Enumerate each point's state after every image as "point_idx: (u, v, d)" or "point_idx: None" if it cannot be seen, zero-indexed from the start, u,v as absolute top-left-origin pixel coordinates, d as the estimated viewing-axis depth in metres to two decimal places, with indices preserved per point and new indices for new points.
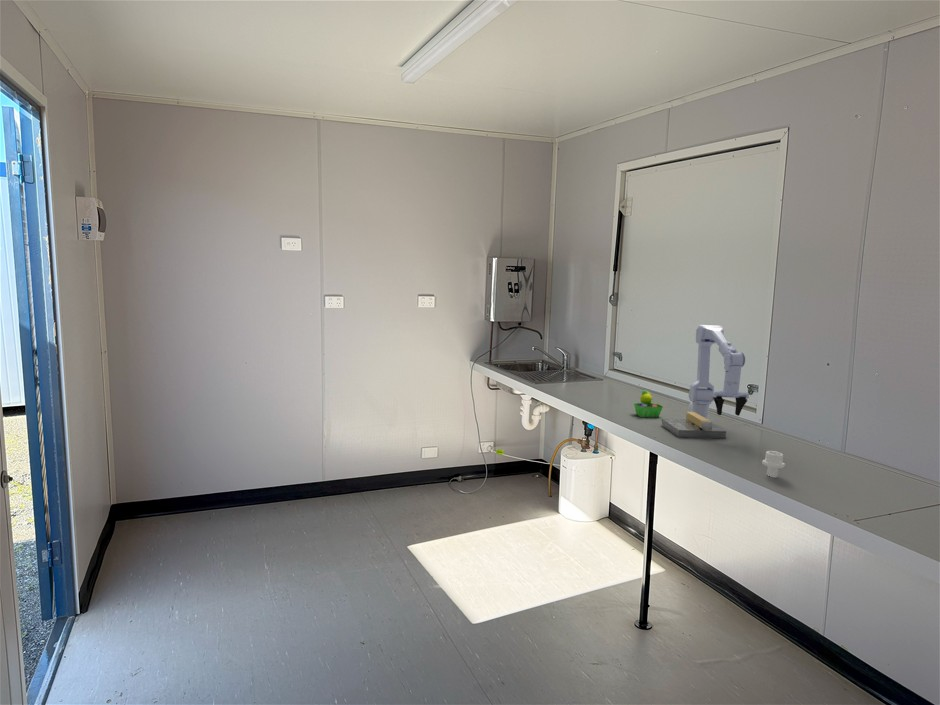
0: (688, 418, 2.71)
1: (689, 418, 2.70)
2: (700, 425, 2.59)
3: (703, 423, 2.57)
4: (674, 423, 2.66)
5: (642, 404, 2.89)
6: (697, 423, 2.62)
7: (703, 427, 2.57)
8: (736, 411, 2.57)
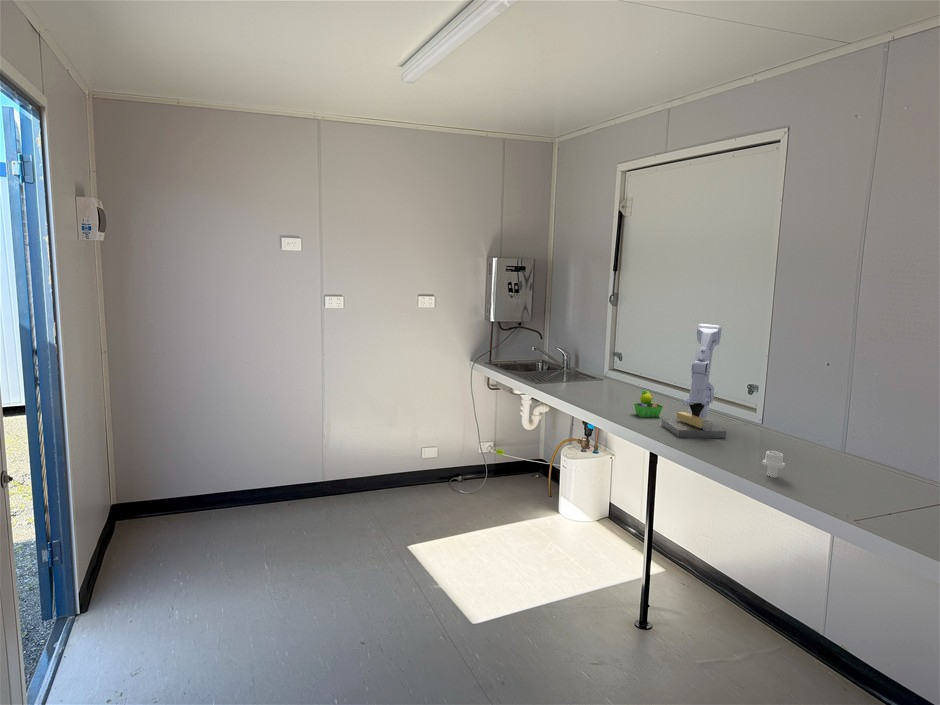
0: (680, 418, 2.69)
1: (682, 418, 2.69)
2: (700, 425, 2.59)
3: (704, 423, 2.56)
4: (674, 423, 2.66)
5: (642, 404, 2.89)
6: (695, 423, 2.61)
7: (704, 427, 2.56)
8: None
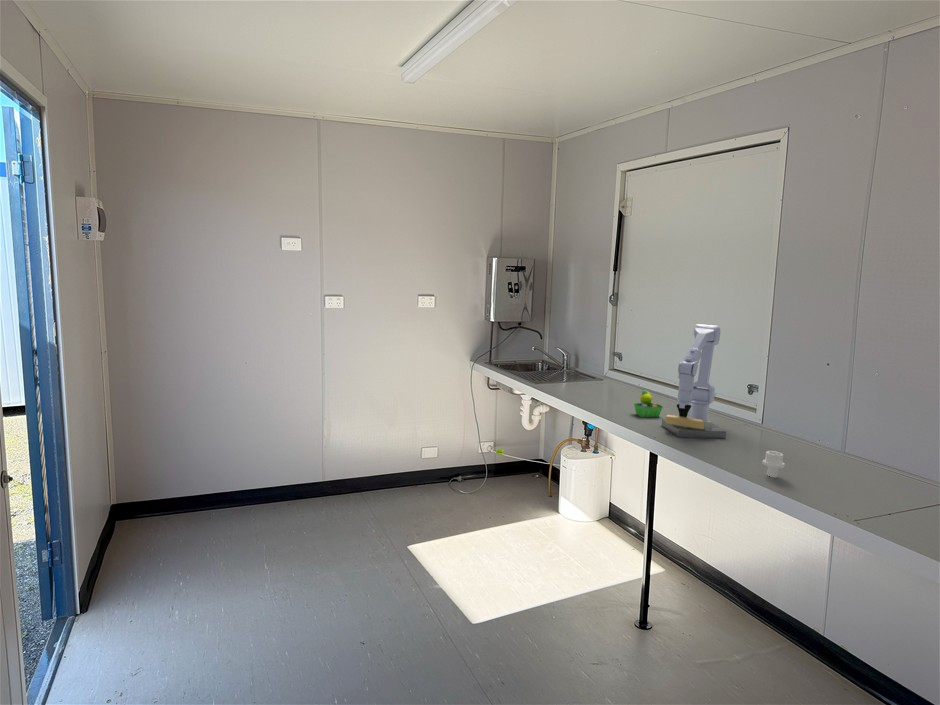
0: (671, 422, 2.63)
1: (674, 422, 2.62)
2: (701, 426, 2.57)
3: (708, 424, 2.56)
4: None
5: (642, 404, 2.89)
6: (694, 425, 2.58)
7: (708, 428, 2.56)
8: None
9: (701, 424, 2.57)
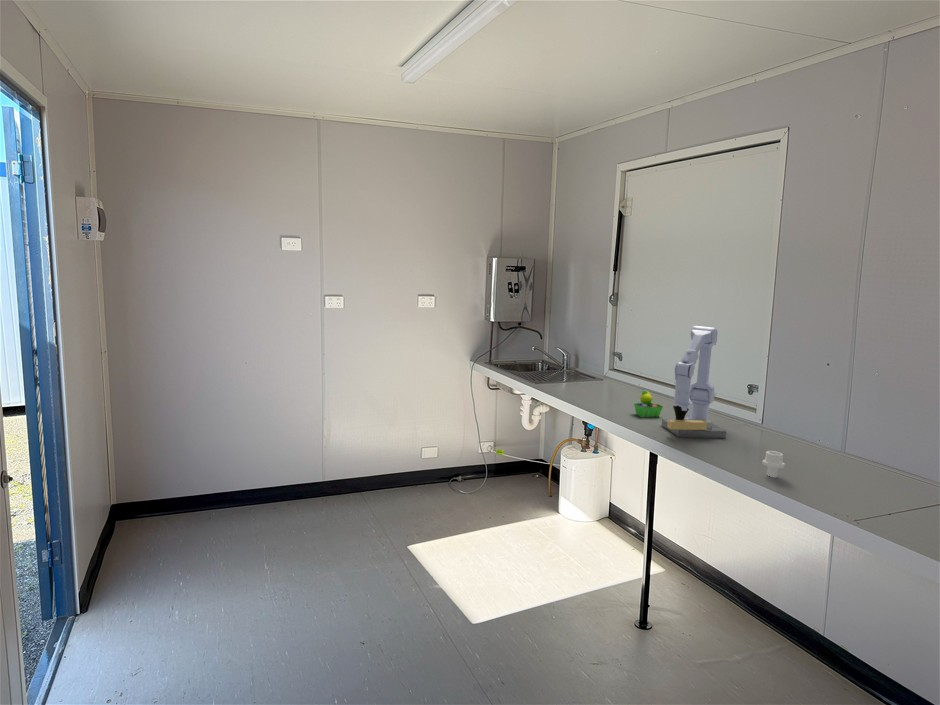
0: (676, 427, 2.54)
1: (679, 427, 2.55)
2: (704, 427, 2.56)
3: (710, 424, 2.56)
4: None
5: (642, 404, 2.89)
6: (697, 427, 2.55)
7: (710, 428, 2.56)
8: None
9: (704, 425, 2.56)
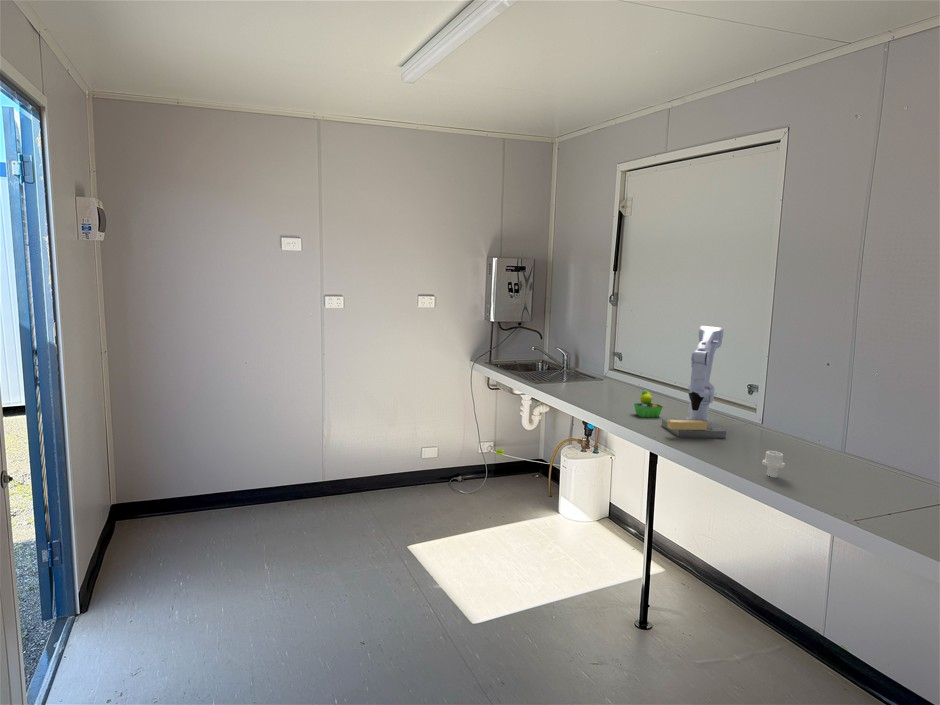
0: (676, 427, 2.54)
1: (679, 427, 2.55)
2: (704, 427, 2.56)
3: (710, 424, 2.56)
4: None
5: (642, 404, 2.89)
6: (697, 427, 2.55)
7: (710, 428, 2.56)
8: None
9: (704, 425, 2.56)
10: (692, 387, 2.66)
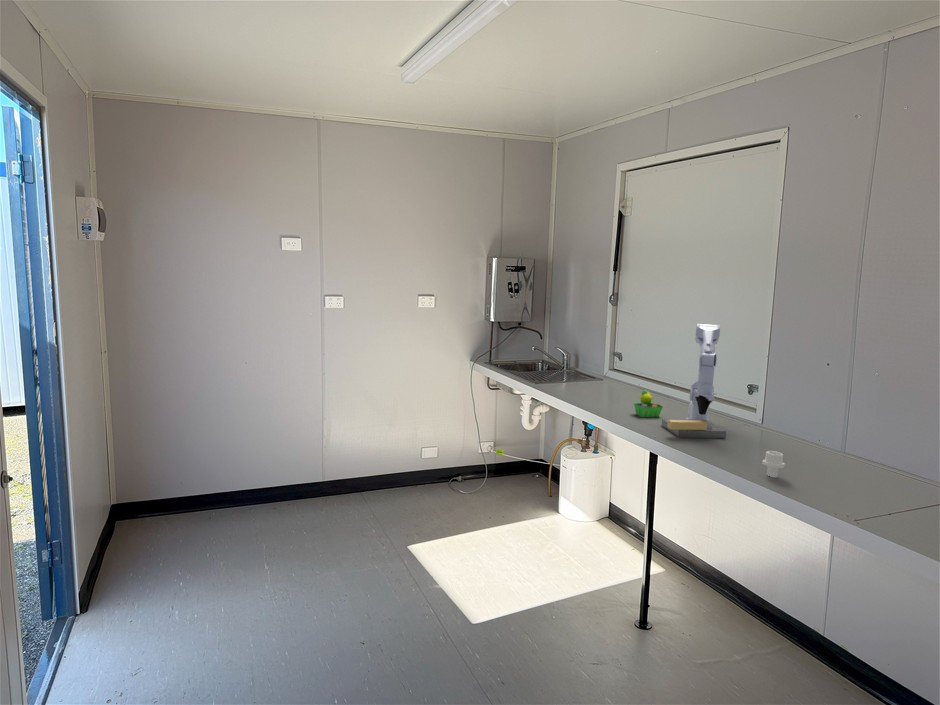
0: (676, 427, 2.54)
1: (679, 427, 2.55)
2: (704, 427, 2.56)
3: (710, 424, 2.56)
4: None
5: (642, 404, 2.89)
6: (697, 427, 2.55)
7: (710, 428, 2.56)
8: None
9: (704, 425, 2.56)
10: (700, 391, 2.59)
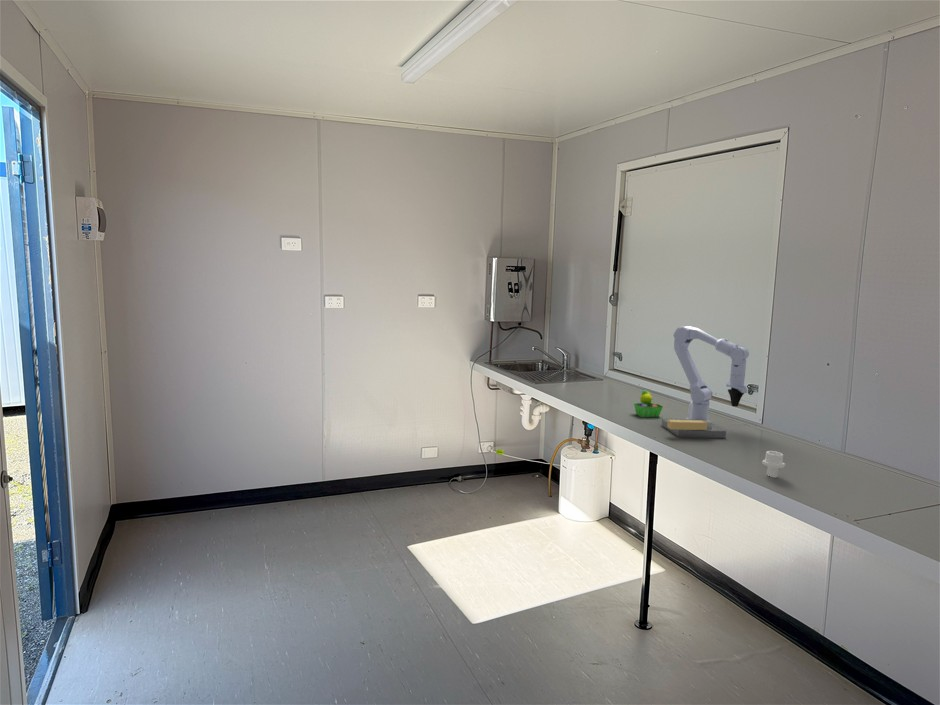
0: (676, 427, 2.54)
1: (679, 427, 2.55)
2: (704, 427, 2.56)
3: (710, 424, 2.56)
4: None
5: (642, 404, 2.89)
6: (697, 427, 2.55)
7: (710, 428, 2.56)
8: None
9: (704, 425, 2.56)
10: (732, 383, 2.69)
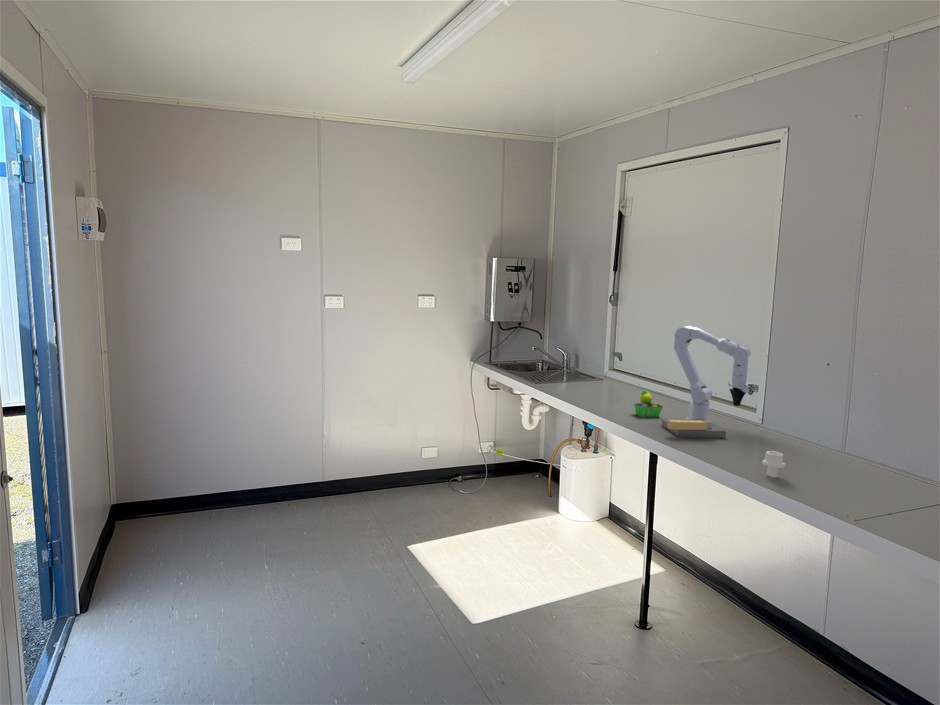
0: (676, 427, 2.54)
1: (679, 427, 2.55)
2: (704, 427, 2.56)
3: (710, 424, 2.56)
4: None
5: (642, 404, 2.89)
6: (697, 427, 2.55)
7: (710, 428, 2.56)
8: None
9: (704, 425, 2.56)
10: (734, 383, 2.69)
